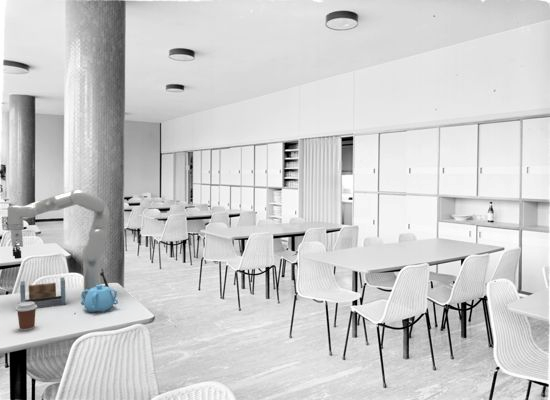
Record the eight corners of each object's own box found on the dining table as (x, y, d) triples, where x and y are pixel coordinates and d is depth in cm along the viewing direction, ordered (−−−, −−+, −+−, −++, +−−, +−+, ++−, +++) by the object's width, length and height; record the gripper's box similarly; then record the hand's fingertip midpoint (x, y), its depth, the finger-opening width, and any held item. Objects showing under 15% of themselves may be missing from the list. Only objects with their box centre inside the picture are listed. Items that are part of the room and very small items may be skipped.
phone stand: (108, 285, 295) (108, 268, 294) (108, 288, 290) (108, 269, 289) (93, 287, 292) (93, 269, 291) (93, 289, 286) (93, 271, 285)
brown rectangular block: (55, 297, 268) (55, 282, 267) (56, 298, 265) (55, 283, 265) (29, 300, 261) (28, 285, 261) (29, 301, 259) (28, 286, 258)
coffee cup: (35, 323, 221) (34, 299, 220) (39, 328, 214) (39, 303, 214) (14, 327, 215) (13, 303, 214) (18, 332, 208) (17, 307, 208)
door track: (64, 300, 260) (64, 277, 259) (65, 304, 252) (65, 280, 251) (21, 306, 250) (20, 281, 249) (21, 310, 242) (20, 285, 241)
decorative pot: (79, 309, 245) (78, 285, 244) (107, 303, 256) (107, 280, 255) (90, 316, 233) (89, 290, 232) (120, 309, 244) (119, 285, 243)
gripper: (25, 228, 246) (26, 258, 247) (21, 225, 261) (22, 254, 262) (9, 229, 242) (10, 260, 243) (6, 226, 256) (8, 255, 257)
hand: (17, 257), depth 252 cm, fingers open, 9 cm apart
